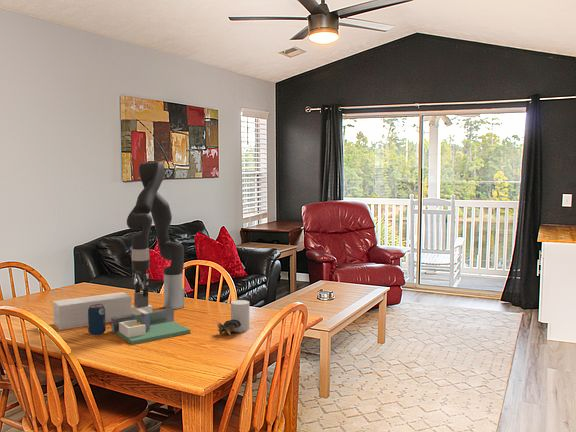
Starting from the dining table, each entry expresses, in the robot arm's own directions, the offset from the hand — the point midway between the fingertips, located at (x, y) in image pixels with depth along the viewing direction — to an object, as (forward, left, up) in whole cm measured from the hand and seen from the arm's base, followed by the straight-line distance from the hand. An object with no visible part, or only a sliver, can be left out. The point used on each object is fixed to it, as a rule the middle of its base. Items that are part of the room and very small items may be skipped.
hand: (141, 294), depth 243 cm
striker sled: (0, +5, -12) cm, 13 cm away
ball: (+6, +11, -11) cm, 17 cm away
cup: (-33, +29, -15) cm, 46 cm away
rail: (-1, 0, -14) cm, 14 cm away
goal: (+9, +11, -13) cm, 19 cm away
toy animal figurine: (-25, +32, -15) cm, 43 cm away
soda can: (+19, -2, -15) cm, 24 cm away
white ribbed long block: (+14, -22, -15) cm, 30 cm away
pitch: (0, +13, -14) cm, 19 cm away
